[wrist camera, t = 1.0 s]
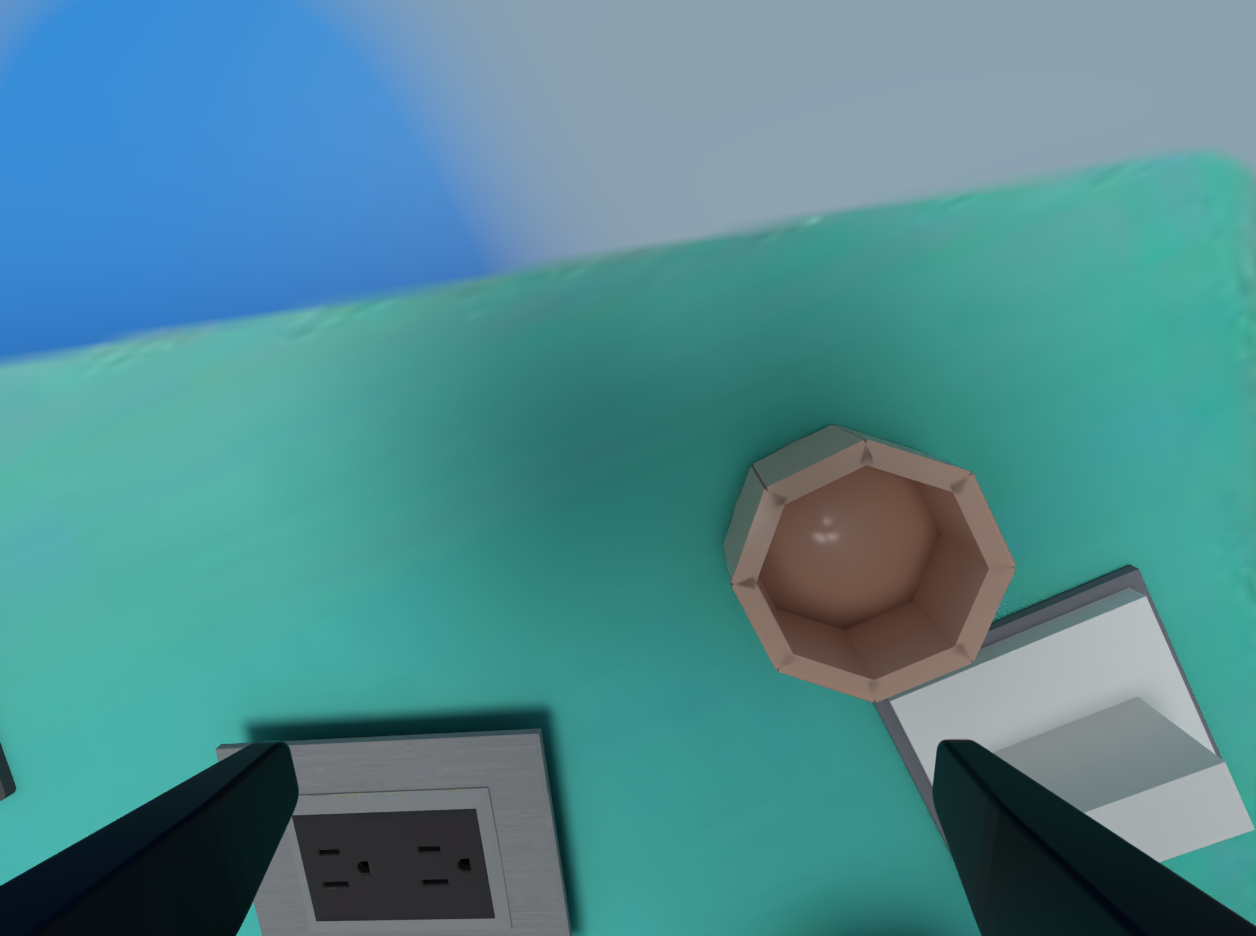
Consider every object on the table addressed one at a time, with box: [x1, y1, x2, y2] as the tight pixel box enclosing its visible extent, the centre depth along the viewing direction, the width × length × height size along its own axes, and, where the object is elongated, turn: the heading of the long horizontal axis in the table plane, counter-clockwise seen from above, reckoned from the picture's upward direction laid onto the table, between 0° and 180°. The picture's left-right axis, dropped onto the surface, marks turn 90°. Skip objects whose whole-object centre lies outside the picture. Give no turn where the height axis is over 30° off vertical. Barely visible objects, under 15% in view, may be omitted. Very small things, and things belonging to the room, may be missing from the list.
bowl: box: [723, 424, 1016, 702], centre depth 20 cm, size 8×8×4 cm
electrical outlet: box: [216, 728, 572, 936], centre depth 26 cm, size 13×10×2 cm
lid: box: [887, 587, 1255, 862], centre depth 21 cm, size 9×9×4 cm
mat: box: [874, 565, 1222, 853], centre depth 23 cm, size 10×10×1 cm
